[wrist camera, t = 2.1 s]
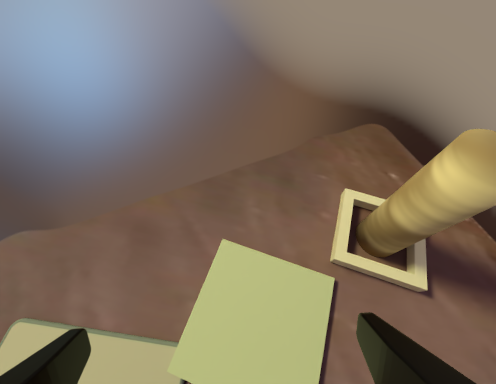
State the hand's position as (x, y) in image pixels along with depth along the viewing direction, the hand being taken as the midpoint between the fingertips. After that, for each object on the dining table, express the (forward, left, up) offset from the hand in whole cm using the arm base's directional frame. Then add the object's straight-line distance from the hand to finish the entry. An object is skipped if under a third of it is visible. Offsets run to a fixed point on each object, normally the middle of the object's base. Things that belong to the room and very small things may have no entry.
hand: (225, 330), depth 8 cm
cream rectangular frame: (+12, -11, -13) cm, 21 cm away
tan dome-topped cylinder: (+12, -11, -13) cm, 21 cm away
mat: (+1, -2, -13) cm, 14 cm away
